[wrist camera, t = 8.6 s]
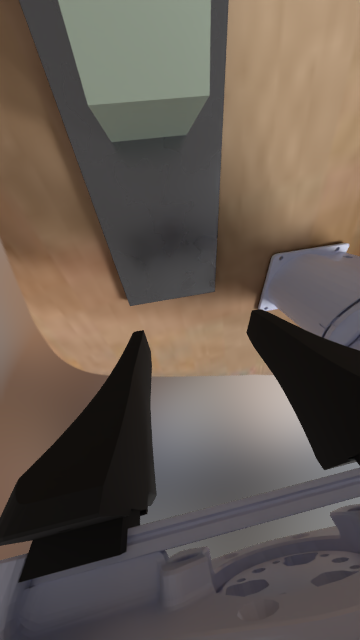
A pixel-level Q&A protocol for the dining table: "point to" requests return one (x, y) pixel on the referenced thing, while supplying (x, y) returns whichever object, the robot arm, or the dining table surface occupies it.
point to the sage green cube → (141, 63)
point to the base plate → (145, 172)
